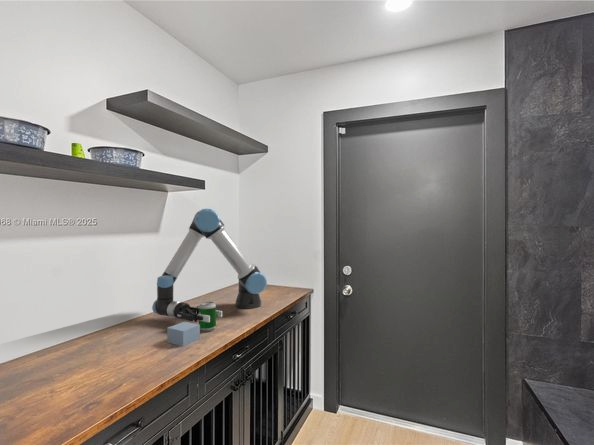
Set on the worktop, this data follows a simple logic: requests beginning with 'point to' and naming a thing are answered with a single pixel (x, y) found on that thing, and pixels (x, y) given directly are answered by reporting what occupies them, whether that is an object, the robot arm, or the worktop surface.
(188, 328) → the base block
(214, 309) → the soda can
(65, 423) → the worktop surface
